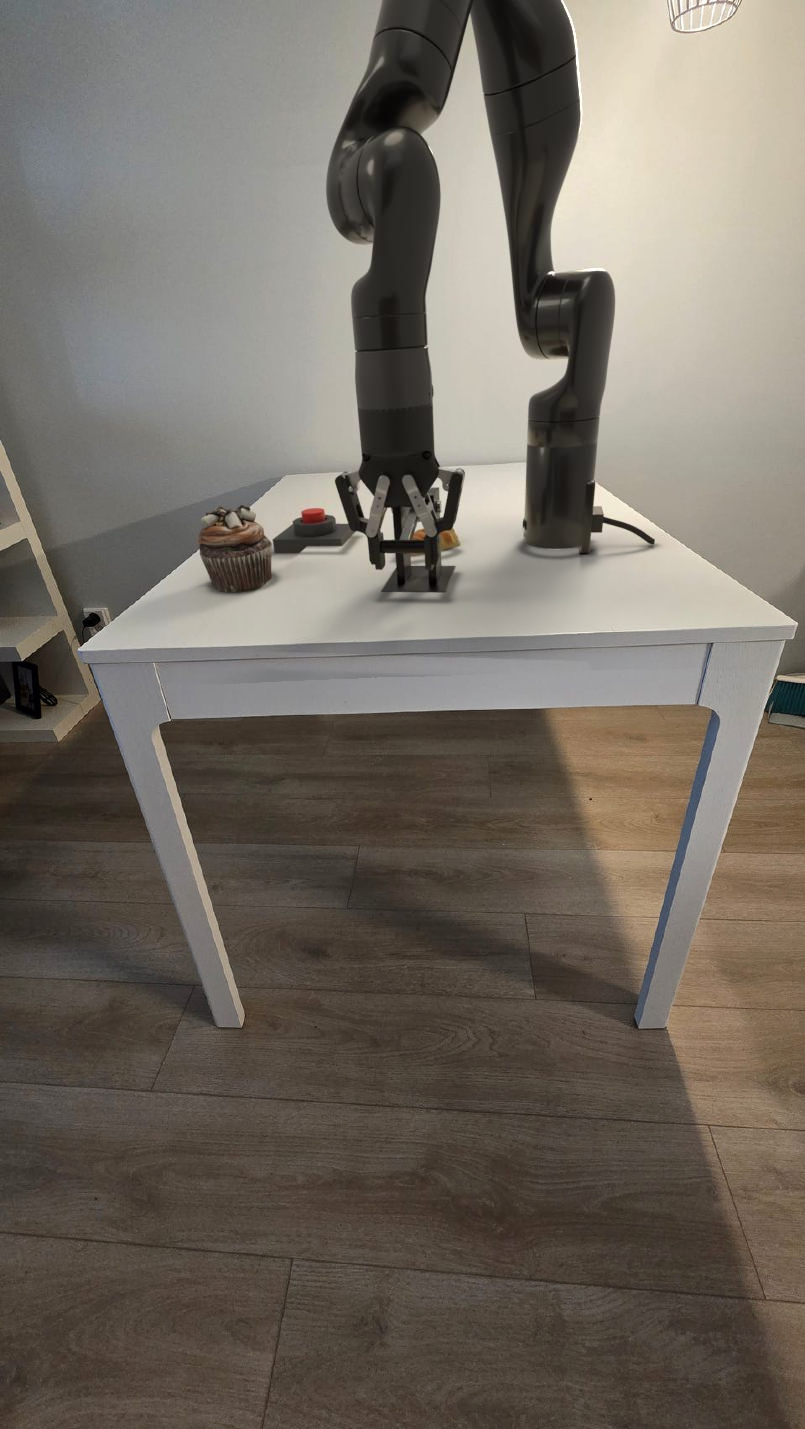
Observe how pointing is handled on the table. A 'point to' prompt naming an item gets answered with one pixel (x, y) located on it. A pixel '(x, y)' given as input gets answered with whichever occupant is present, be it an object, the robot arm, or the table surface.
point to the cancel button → (313, 515)
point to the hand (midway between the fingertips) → (405, 567)
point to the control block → (311, 535)
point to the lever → (405, 537)
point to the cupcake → (235, 550)
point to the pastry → (447, 539)
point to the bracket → (417, 576)
